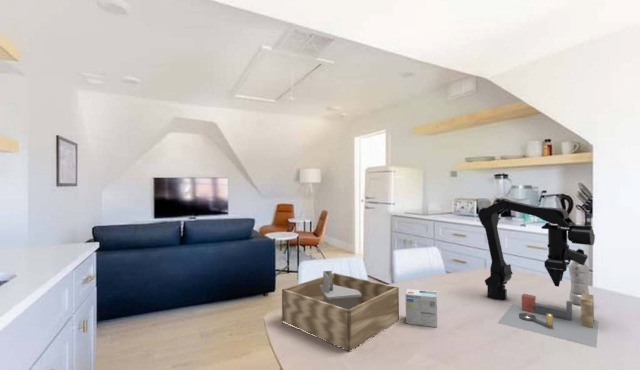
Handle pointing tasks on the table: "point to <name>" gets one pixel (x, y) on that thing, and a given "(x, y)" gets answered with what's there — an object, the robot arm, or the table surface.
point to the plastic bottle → (578, 281)
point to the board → (561, 327)
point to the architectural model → (338, 293)
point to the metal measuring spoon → (532, 318)
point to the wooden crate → (341, 310)
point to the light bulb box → (421, 307)
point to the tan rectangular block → (587, 310)
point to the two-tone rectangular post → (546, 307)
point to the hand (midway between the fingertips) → (558, 283)
